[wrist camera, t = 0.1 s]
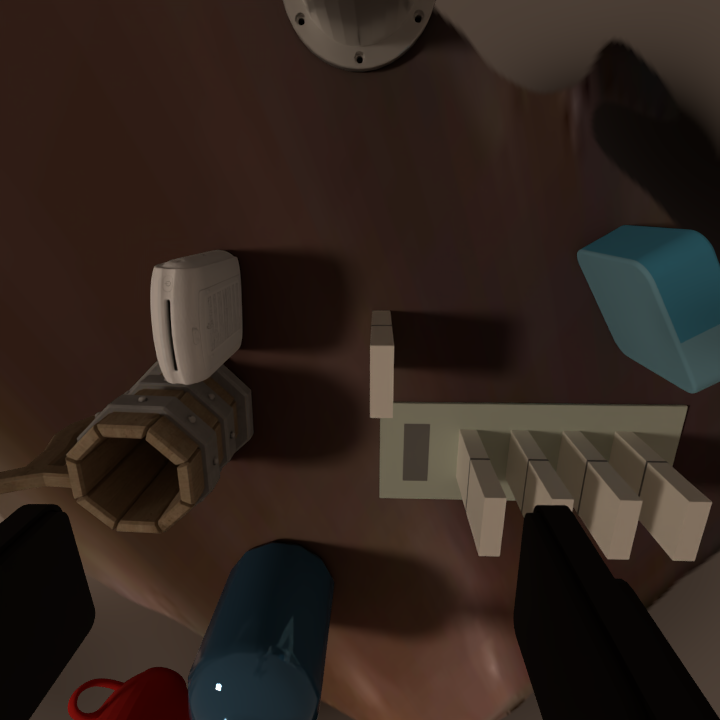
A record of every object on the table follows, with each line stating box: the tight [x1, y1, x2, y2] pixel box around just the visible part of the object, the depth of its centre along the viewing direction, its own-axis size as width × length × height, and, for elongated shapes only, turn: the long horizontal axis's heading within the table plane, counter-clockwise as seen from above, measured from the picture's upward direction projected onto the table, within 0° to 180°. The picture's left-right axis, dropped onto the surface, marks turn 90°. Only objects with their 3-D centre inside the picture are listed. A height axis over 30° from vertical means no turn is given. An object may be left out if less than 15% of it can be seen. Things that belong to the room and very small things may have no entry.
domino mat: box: [380, 402, 688, 500], centre depth 49 cm, size 12×32×1 cm, turn 90°
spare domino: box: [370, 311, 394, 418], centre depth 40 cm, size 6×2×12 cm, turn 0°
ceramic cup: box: [68, 667, 190, 720], centre depth 58 cm, size 13×17×10 cm
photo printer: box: [151, 250, 242, 385], centre depth 39 cm, size 10×4×12 cm, turn 178°
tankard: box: [0, 361, 254, 533], centre depth 42 cm, size 20×13×15 cm, turn 89°
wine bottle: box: [188, 541, 334, 720], centre depth 42 cm, size 14×13×30 cm
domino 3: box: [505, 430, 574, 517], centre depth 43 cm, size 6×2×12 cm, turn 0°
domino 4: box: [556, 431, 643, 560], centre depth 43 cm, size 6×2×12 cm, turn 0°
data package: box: [577, 225, 720, 393], centre depth 37 cm, size 12×4×12 cm, turn 32°
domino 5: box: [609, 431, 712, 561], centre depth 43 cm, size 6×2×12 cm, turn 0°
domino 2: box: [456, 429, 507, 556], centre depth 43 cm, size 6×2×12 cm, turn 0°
